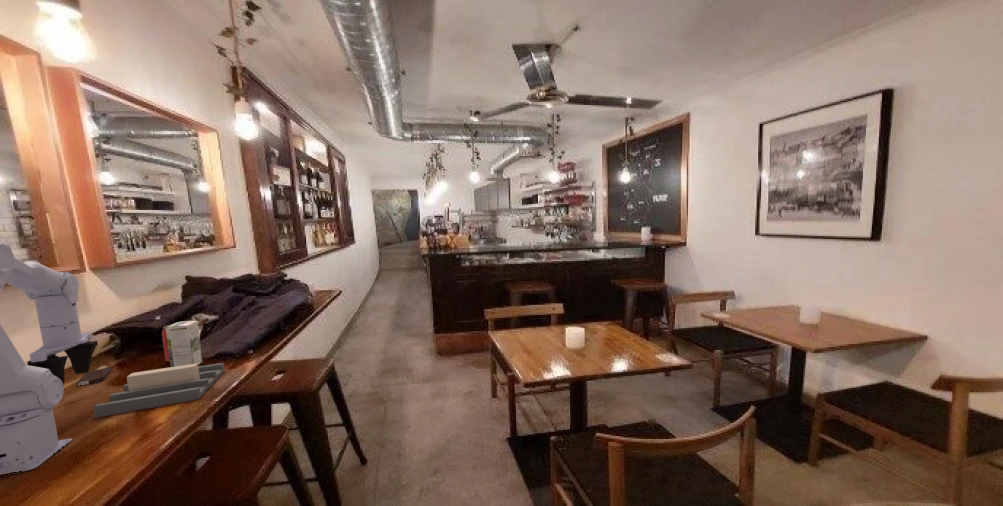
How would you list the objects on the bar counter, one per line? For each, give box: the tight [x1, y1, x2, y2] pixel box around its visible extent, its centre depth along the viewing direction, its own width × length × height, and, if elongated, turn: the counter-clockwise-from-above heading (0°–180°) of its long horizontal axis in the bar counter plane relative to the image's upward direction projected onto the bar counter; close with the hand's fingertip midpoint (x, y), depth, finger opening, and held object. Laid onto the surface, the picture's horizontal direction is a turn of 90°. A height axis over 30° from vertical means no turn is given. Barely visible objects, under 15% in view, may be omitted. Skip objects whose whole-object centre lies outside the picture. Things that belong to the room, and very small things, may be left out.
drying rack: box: [93, 362, 226, 419], centre depth 95 cm, size 18×20×3 cm
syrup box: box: [166, 320, 203, 367], centre depth 110 cm, size 6×6×14 cm
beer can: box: [161, 322, 176, 362], centre depth 117 cm, size 7×7×12 cm
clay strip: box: [126, 363, 200, 391], centre depth 95 cm, size 14×2×5 cm, turn 111°
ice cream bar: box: [75, 365, 113, 387], centre depth 107 cm, size 5×2×15 cm
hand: (70, 379), depth 83 cm, fingers open, 7 cm apart
